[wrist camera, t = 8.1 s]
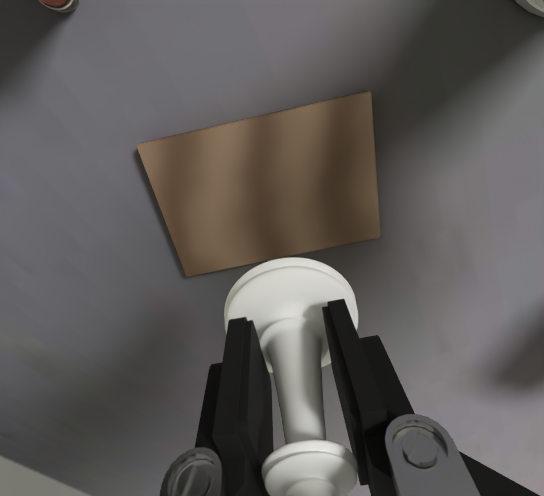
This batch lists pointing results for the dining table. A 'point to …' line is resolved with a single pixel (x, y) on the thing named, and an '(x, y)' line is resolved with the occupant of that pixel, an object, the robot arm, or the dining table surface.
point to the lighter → (61, 5)
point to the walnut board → (268, 184)
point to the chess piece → (297, 369)
